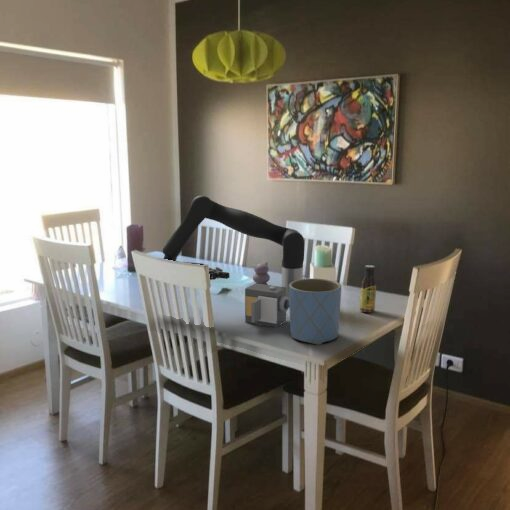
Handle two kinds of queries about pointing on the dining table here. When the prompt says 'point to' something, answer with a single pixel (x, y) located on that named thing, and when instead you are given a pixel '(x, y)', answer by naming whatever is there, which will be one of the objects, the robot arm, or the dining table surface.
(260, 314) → the side door
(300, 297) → the planter
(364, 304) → the sauce bottle
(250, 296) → the camera housing
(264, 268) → the cat figurine
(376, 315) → the dining table surface
